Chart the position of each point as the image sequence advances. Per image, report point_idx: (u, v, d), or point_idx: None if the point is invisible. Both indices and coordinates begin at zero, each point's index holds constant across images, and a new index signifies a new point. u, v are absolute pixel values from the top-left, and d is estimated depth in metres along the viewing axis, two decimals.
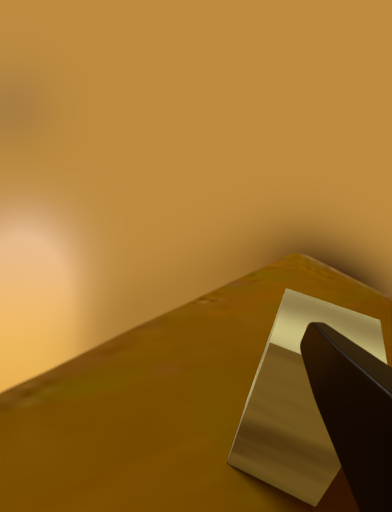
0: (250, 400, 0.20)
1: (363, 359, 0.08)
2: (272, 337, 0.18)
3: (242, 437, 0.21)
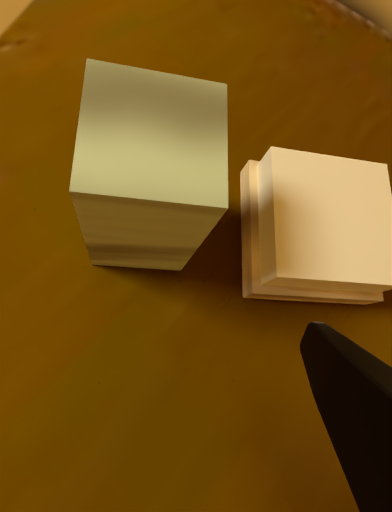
0: (83, 233, 0.17)
1: (363, 359, 0.08)
2: (72, 180, 0.12)
3: (95, 252, 0.20)
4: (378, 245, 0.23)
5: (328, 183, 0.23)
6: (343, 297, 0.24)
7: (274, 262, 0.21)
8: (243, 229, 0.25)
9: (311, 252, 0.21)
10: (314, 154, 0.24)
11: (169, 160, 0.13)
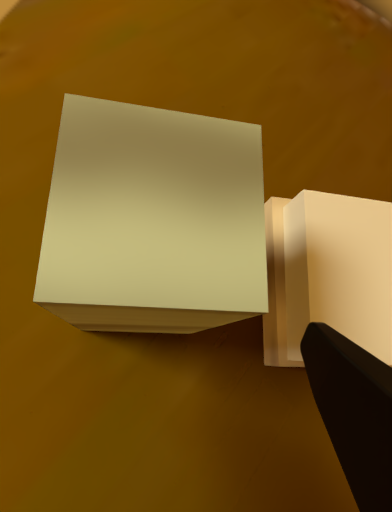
0: (65, 319, 0.12)
1: (363, 359, 0.08)
2: (38, 282, 0.08)
3: (83, 326, 0.16)
4: None
5: (373, 236, 0.19)
6: None
7: None
8: None
9: (354, 327, 0.17)
10: (356, 199, 0.19)
11: (183, 243, 0.09)
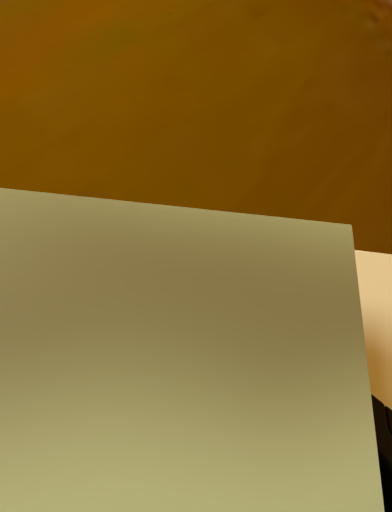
0: None
1: None
2: None
3: None
4: None
5: None
6: None
7: None
8: None
9: None
10: None
11: None
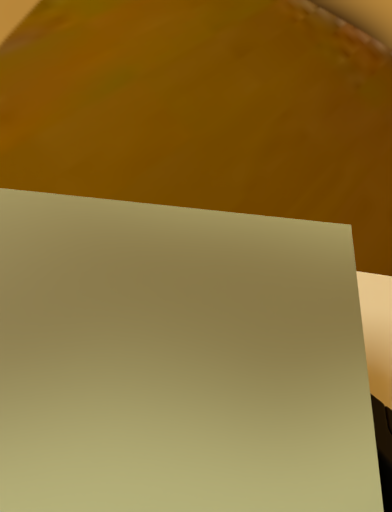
0: None
1: None
2: None
3: None
4: None
5: (389, 318, 0.17)
6: None
7: None
8: None
9: None
10: (371, 275, 0.17)
11: None
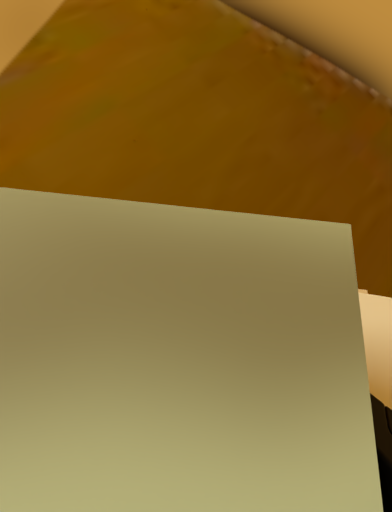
0: None
1: None
2: None
3: None
4: None
5: None
6: None
7: None
8: None
9: None
10: None
11: None
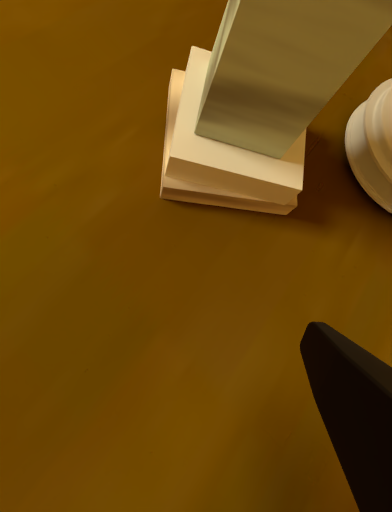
0: (225, 48, 0.16)
1: (363, 359, 0.08)
2: None
3: (213, 100, 0.19)
4: None
5: None
6: (256, 198, 0.25)
7: (171, 145, 0.22)
8: (165, 136, 0.26)
9: (211, 142, 0.22)
10: None
11: None
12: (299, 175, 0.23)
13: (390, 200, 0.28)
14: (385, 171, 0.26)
